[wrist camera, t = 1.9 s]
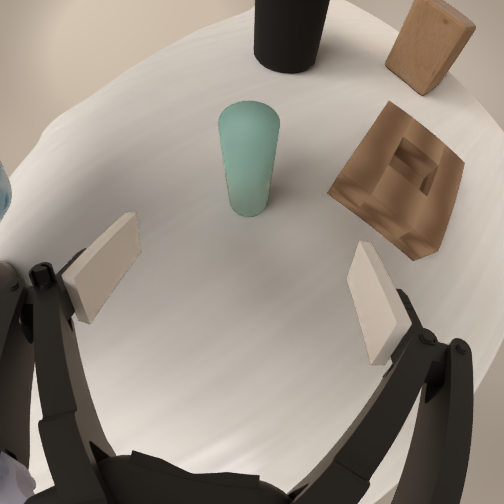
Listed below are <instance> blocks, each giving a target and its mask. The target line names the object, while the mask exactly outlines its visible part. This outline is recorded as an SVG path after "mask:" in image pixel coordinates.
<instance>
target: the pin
mask: <svg viewBox="0 0 504 504" xmlns="http://www.w3.org/2000/svg"><path fill="white" fill-rule="evenodd" d="M218 127H219V133H220V140H221V147H222V154H223V160H224V167H225V174H226V180H227V187H228V193H229V200H230V205H231V207H232V209H233V210H234V211H235V212H236V213H237V214H239V215H241V216H244V217H253V216H256V215H258V214H260V213H261V212H263V210H264V209H265V208H266V206H267V202H268V196H269V190H270V184H271V177H272V171H273V165H274V159H275V153H276V147H277V141H278V134H279V128H280V119H279V116H278V115H277V113H276V112H275V111H274V110H273V109H272V108H271V107H269V106H268V105H266V104H264V103H261V102H257V101H242V102H238V103H235V104H232V105H230V106H229V107H227V108H226V109H225V110H224V111H223V112H222V113H221V115H220V117H219V121H218Z"/></svg>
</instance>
